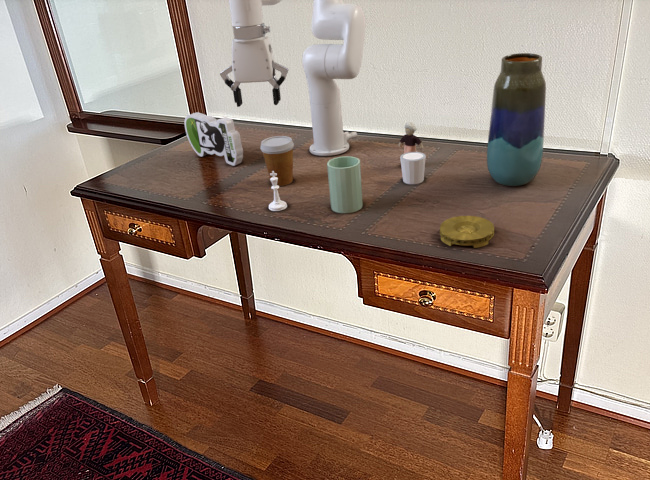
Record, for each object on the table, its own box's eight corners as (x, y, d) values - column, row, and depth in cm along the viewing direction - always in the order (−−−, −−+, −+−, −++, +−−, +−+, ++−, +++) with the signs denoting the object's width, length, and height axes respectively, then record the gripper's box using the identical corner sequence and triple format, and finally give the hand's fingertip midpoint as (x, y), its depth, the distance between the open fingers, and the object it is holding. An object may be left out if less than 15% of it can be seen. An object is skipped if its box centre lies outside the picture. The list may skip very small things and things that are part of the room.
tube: (351, 197, 168) (348, 153, 161) (368, 206, 161) (366, 162, 155) (325, 205, 164) (321, 162, 158) (341, 216, 158) (338, 171, 152)
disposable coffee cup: (283, 172, 187) (277, 133, 180) (305, 179, 181) (300, 138, 174) (258, 183, 182) (252, 143, 175) (280, 190, 176) (274, 149, 169)
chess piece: (284, 211, 164) (279, 174, 159) (266, 211, 165) (261, 175, 160) (289, 203, 168) (284, 167, 163) (271, 203, 169) (266, 167, 164)
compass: (434, 245, 141) (434, 237, 140) (445, 222, 150) (445, 214, 149) (489, 250, 137) (490, 241, 136) (497, 226, 146) (497, 217, 145)
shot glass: (429, 176, 174) (429, 152, 171) (421, 186, 169) (421, 161, 166) (405, 174, 177) (404, 150, 173) (397, 184, 172) (396, 159, 168)
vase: (549, 176, 167) (563, 53, 150) (523, 195, 159) (535, 66, 142) (502, 167, 175) (509, 49, 158) (475, 184, 167) (480, 61, 150)
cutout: (239, 121, 188) (188, 104, 202) (232, 124, 186) (181, 106, 201) (245, 168, 197) (195, 149, 211) (238, 171, 195) (188, 151, 209)
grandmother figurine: (396, 167, 182) (394, 124, 175) (399, 162, 185) (398, 120, 178) (422, 169, 179) (422, 125, 173) (425, 164, 182) (425, 120, 176)
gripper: (286, 28, 154) (293, 99, 162) (218, 32, 156) (229, 102, 165) (281, 33, 147) (288, 107, 156) (210, 37, 150) (221, 110, 159)
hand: (258, 104), depth 161 cm, fingers open, 9 cm apart
